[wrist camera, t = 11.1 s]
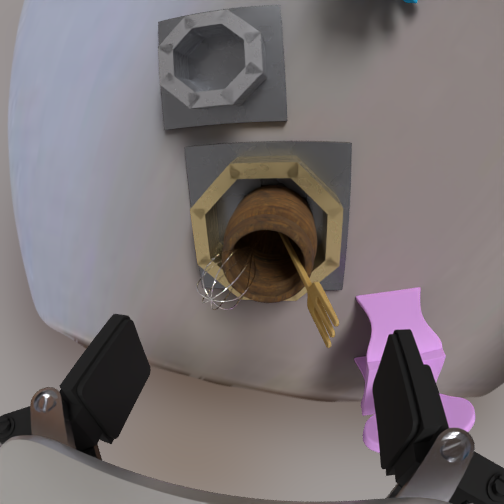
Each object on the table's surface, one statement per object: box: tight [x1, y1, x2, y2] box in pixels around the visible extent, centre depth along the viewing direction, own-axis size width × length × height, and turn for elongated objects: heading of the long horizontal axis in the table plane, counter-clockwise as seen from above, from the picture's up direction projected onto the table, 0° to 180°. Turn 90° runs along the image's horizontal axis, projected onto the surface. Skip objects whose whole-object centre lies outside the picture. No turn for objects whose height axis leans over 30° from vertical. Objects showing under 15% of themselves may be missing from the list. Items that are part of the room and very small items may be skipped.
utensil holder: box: [197, 185, 339, 348], centre depth 17 cm, size 6×6×12 cm
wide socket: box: [185, 141, 352, 301], centre depth 22 cm, size 12×12×4 cm
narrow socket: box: [158, 5, 287, 130], centre depth 17 cm, size 9×9×4 cm
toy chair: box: [354, 287, 475, 453], centre depth 20 cm, size 8×9×15 cm
